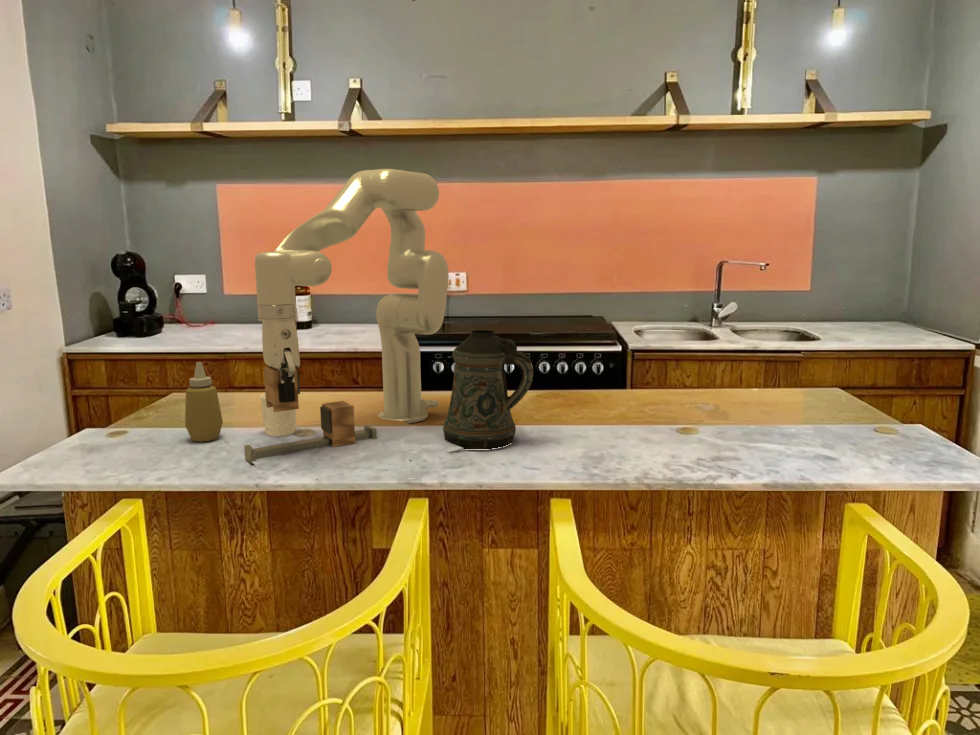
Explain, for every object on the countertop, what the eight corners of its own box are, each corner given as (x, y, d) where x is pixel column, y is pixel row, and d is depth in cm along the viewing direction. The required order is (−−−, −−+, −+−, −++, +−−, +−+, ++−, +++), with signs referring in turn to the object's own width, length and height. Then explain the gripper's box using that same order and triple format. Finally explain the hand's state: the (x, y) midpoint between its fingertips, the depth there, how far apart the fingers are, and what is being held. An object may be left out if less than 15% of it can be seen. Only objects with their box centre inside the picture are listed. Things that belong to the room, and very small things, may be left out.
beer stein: (437, 434, 168) (434, 328, 163) (516, 427, 172) (516, 325, 168) (451, 454, 152) (448, 338, 147) (537, 447, 157) (538, 334, 152)
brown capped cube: (292, 403, 154) (290, 364, 152) (301, 408, 149) (299, 368, 147) (266, 406, 150) (263, 367, 149) (274, 412, 146) (272, 371, 144)
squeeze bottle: (231, 436, 167) (225, 360, 164) (204, 445, 160) (198, 366, 156) (206, 432, 170) (199, 358, 167) (178, 441, 163) (171, 364, 160)
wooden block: (344, 437, 162) (343, 400, 160) (355, 443, 157) (353, 405, 156) (321, 441, 159) (319, 404, 157) (331, 447, 154) (329, 409, 152)
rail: (368, 438, 164) (368, 424, 164) (376, 442, 161) (376, 429, 160) (245, 460, 149) (244, 445, 148) (251, 465, 145) (250, 450, 145)
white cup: (288, 441, 162) (285, 399, 160) (256, 440, 164) (253, 397, 162) (303, 432, 170) (301, 391, 168) (273, 431, 171) (270, 390, 170)
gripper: (309, 315, 141) (314, 404, 144) (281, 308, 155) (286, 389, 158) (272, 317, 137) (277, 409, 140) (246, 310, 151) (252, 394, 154)
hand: (282, 398), depth 149 cm, fingers closed on brown capped cube, 5 cm apart
